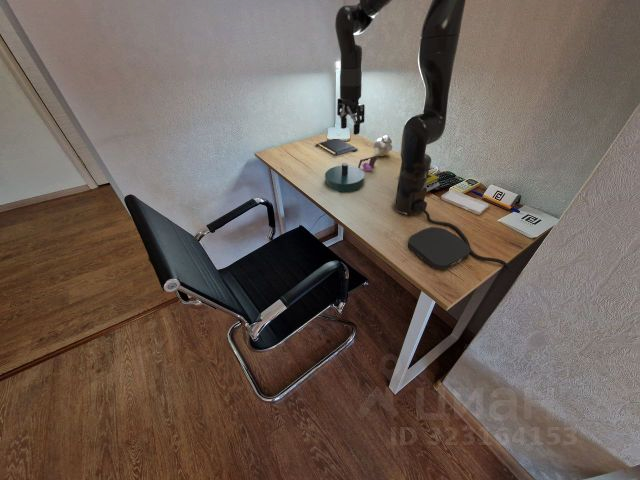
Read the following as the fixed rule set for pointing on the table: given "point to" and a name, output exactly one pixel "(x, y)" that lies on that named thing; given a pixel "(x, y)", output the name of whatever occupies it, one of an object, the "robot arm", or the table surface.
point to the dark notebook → (336, 147)
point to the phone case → (465, 202)
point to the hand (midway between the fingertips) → (349, 131)
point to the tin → (345, 186)
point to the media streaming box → (438, 247)
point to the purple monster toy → (366, 165)
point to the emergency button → (430, 180)
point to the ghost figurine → (382, 146)
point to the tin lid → (344, 175)
